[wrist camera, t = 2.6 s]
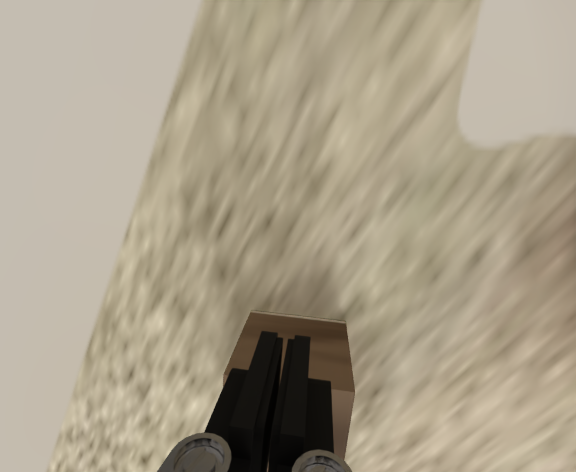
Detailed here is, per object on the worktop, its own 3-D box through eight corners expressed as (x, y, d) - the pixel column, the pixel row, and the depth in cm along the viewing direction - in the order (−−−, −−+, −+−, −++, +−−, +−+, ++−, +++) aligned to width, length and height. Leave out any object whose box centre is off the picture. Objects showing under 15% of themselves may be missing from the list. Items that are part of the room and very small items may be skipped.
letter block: (251, 310, 24) (223, 374, 17) (345, 321, 23) (355, 392, 17) (247, 387, 26) (221, 472, 19) (334, 399, 25) (339, 491, 19)
